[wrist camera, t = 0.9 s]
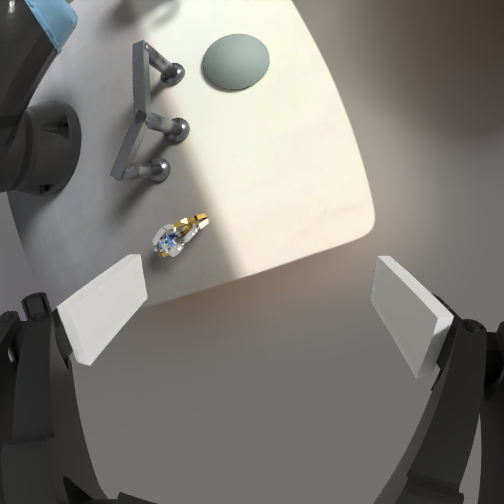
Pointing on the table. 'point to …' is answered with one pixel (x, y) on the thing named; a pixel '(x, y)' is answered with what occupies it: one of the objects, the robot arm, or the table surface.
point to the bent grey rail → (148, 117)
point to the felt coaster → (236, 61)
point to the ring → (177, 235)
